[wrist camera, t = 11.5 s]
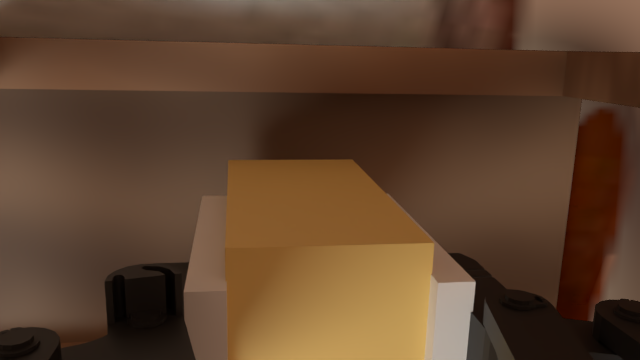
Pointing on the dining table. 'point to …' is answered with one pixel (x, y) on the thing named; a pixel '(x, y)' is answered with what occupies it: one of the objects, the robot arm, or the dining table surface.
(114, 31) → the dining table surface
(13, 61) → the wooden organizer rack
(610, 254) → the dining table surface
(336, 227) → the block
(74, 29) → the dining table surface
